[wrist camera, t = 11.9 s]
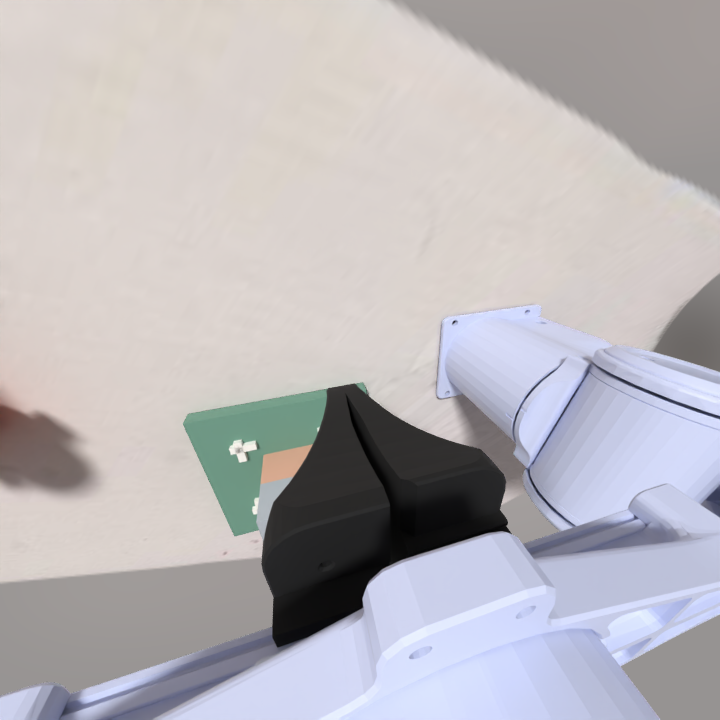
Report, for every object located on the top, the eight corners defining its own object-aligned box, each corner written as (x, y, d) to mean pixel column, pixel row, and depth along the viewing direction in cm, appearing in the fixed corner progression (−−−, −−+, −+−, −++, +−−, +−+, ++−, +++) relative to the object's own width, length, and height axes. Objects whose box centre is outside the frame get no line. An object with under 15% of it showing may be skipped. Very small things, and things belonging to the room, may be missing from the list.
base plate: (362, 382, 23) (367, 392, 22) (369, 490, 30) (373, 503, 28) (188, 414, 21) (181, 427, 19) (236, 524, 27) (233, 540, 26)
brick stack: (316, 443, 24) (324, 504, 18) (322, 478, 26) (331, 543, 20) (263, 454, 23) (256, 522, 18) (274, 490, 25) (270, 560, 20)
